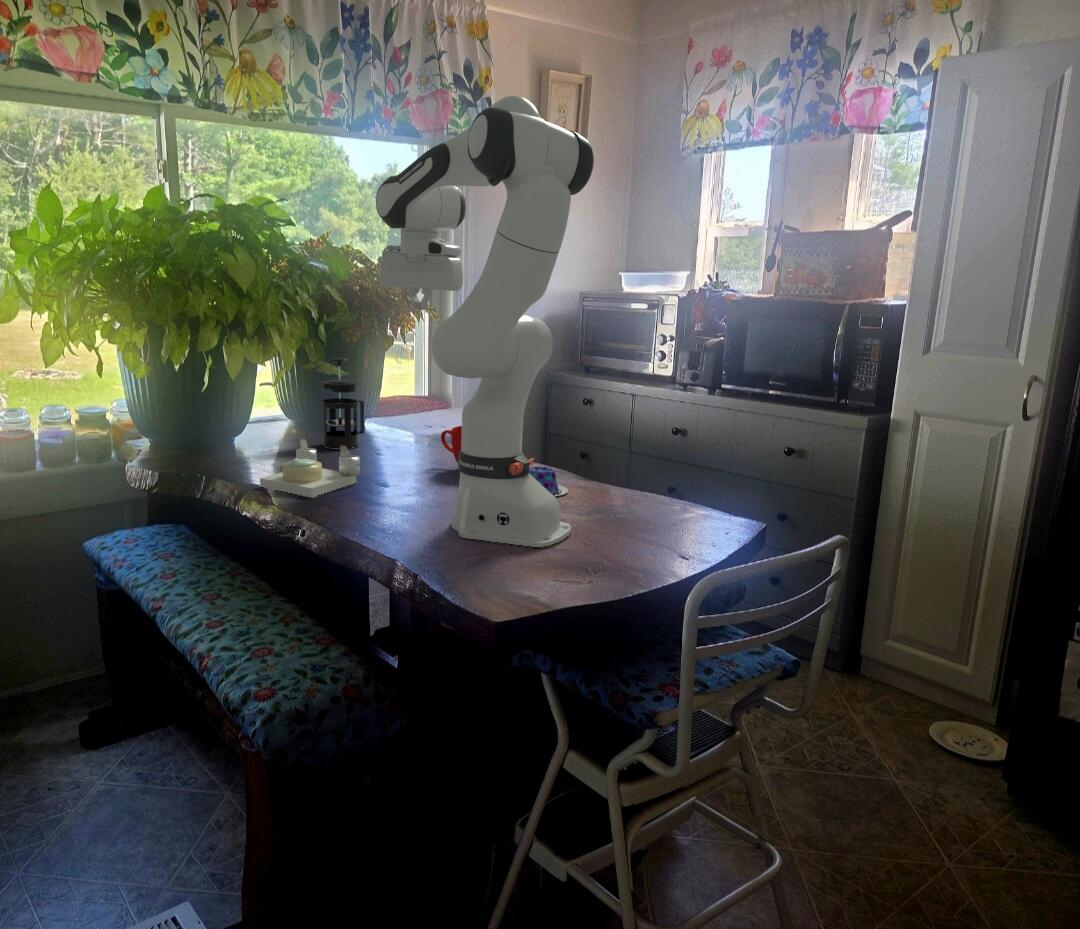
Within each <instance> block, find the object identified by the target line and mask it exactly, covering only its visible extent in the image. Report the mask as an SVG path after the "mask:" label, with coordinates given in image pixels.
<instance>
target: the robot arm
mask: <svg viewBox="0 0 1080 929" xmlns="http://www.w3.org/2000/svg"><path fill="white" fill-rule="evenodd" d="M594 163H595V157H594V152H593V148H592V144H591V142H589V141H588V139H586V138H585V137H583V136H582V135H581V134H579V133H577V132H575V131H573V130H567V129H565V128H563V127H561V126H558V125H556V124H554V123H551V122H549V121H545V119H543V118H542V117H541V116H540V113H539V111H538V110H537V108H536V106H535V105H534V104H533V103H532V102H531V101H530V100H528V99H527V98H524V96H523V97H522V96H519V95H508V96H505V97H503V98H500V99H499V100H498V101H495V102H494V103H492V105H490V106H488V107H486V108H484V109H482V110H481V111H480V112H479V113H478V114H477V116H475V118H474V120H473V121H472V123H471V125H470V126H468V127H467V128H466V129H464V130H463V131H461V132H460V133H458V134H457V135H455V136H453V137H452V138H450V139H447V140H446V141H444V142H441V143H438V144H437V145H435V146H432V147H430V149H428V150H427V151H425V152H424V153H423V154H421V155H420V156H419V157H418V158H416V160H413V162H412V163H410V164H409V165H408V166H407V167H406V168H404V169H403V171H401V172H400V173H398V174H397V175H392V176H391V175H390V176H389V177H388V178H386V179H385V180H384V181H383V182H382V184H381V185H380V186H379V187H378V189H377V193H376V197H375V199H376V200H375V207H376V212H377V214H378V216H379V217H380V218H381V220H382V222H384V223H385V224H386V225H387V226H388V228H390V229H400V245H391V244H390V245H387V246H386V247H385V248H384V249H383V250H382V251H381V264H380V272H379V283H380V284H381V286H382V287H383V288H397V289H398V288H399V289H401V288H402V289H408V291H407V293H408V295H409V298H410V300H411V302H412V310H414V311H415V310H416V311H417V310H418V311H427V310H428V308H429V307H428V304H429V301H430V299H431V298H432V296H433V290H434V291H451V292H459V291H460V290H461V289H462V287H463V285H464V283H463V282H464V279H463V278H464V273H463V263H462V261H461V259H460V258H459V256H461V253H462V251H461V250H462V248H461V247H460V246H459V245H457V244H455V243H451V242H450V241H447V240H445V239H443V238H442V231H451V230H452V231H453V230H455V229H457V228H458V227H459V226H460V225H461V224H462V222H463V221H464V219H465V217H466V209H467V208H466V207H467V206H466V205H467V203H466V198H465V196H464V193H463V192H462V190H461V189H460V188H459V187H460V186H461V187H490V186H492V187H496V186H497V185H499V184H500V183H501V182H502V183H503V185H504V186H505V189H506V190H505V191H506V200H505V204H504V207H503V210H502V213H501V216H500V219H499V220H498V225H497V227H496V230H495V234H494V238H493V240H492V245H491V247H490V250H489V253H488V256H487V259H486V262H485V265H484V267H483V270H482V273H481V275H480V276H479V279H478V281H477V282H476V283H475V286H474V287H473V289H472V290H471V292H470V293H469V295H467V297H466V299H465V300H464V301H463V303H462V304H461V305H460V306H459V308H457V310H456V311H454V313H452V314H451V315H450V316H449V317H447V318H446V319H444V320H443V321H441V322H440V323H439V324H438V325H437V327H436V328H435V330H434V333H433V336H432V339H431V352H432V356H433V359H434V362H435V364H436V366H437V367H438V368H439V369H440V371H442V373H444V374H446V375H449V376H451V377H452V376H453V377H458V378H464V379H468V380H469V379H470V380H471V379H472V380H473V379H480V378H481V380H480V382H479V385H478V387H477V389H476V391H475V393H474V395H473V396H472V397H471V398H470V399H468V401H467V402H466V403H465V405H464V407H463V408H462V412H461V426H462V440H461V450H460V451H459V460H458V463H457V465H458V466H457V468H458V469H457V472H458V478H459V482H458V492H457V496H456V497H457V498H456V504H455V507H454V511H453V515H452V519H451V520H450V521H451V522H450V526H451V528H452V529H453V530H455V531H456V532H457V531H458V532H457V534H459V535H458V537H459V536H460V537H463V538H471V539H479V540H485V541H484V542H486V541H492V542H491V543H494V542H501V543H509V544H516V545H515V546H517V545H524V546H523V547H525V546H531V547H530V548H532V547H542V548H544V547H543V546H547V545H551V544H554V543H557V542H559V541H561V540H562V541H564V540H566V539H567V538H568V537H569V536H570V535H571V534H572V526H571V524H570V523H568V522H564V521H561V515H560V507H559V503H558V500H557V498H556V496H554V495H552V494H551V493H550V492H549V491H548V490H546V489H545V488H544V487H543V486H542V485H541V484H540V483H539V482H538V481H537V480H536V479H535V478H534V477H533V476H532V475H531V474H530V473H529V472H530V471H529V469H530V466H531V465H534V464H535V462H533V461H534V460H535V458H534V457H532V458H529V459H528V458H527V456H525V454H524V452H523V451H522V450H523V449H522V448H523V446H522V445H523V433H524V432H523V430H524V418H525V417H524V416H525V410H526V405H527V401H528V399H529V395H530V392H531V389H532V386H533V384H534V382H535V379H536V377H537V375H538V373H539V372H540V370H541V369H542V368H543V367H544V366H545V364H547V363H548V361H549V359H550V358H551V355H552V353H553V348H554V347H553V346H554V340H553V339H554V338H553V334H552V332H551V330H550V328H549V326H548V324H546V323H545V322H544V321H543V320H541V319H540V318H537V317H534V316H531V315H529V314H528V315H527V314H525V313H527V311H528V310H529V309H530V307H532V305H534V304H536V303H537V302H539V300H540V299H542V297H543V296H544V295H545V293H546V291H547V288H548V287H549V283H550V280H551V277H552V274H553V271H554V268H555V265H556V263H557V260H558V256H559V253H560V250H561V248H562V243H563V240H564V238H565V235H566V230H567V225H568V222H569V221H568V220H569V214H570V210H571V209H570V208H571V200H572V196H574V195H578V193H580V192H582V190H583V189H584V188H585V187H586V185H588V182H589V181H590V179H591V176H592V174H593V169H594V165H595V164H594ZM458 186H459V187H458ZM419 290H421V294H422V295H423V296H422V299H421V300H420V299H419V297H418V294H419V293H420V291H419ZM570 533H571V534H570ZM569 534H570V535H569ZM567 536H568V537H567ZM460 537H459V538H460ZM566 537H567V538H566ZM463 538H462V539H463ZM565 538H566V539H565ZM471 539H470V540H471ZM563 539H564V540H563ZM562 541H561V542H562ZM501 543H500V544H501ZM559 543H560V542H559ZM509 544H508V545H509ZM557 544H558V543H557ZM554 545H555V544H554ZM551 546H552V545H551ZM547 547H548V546H547Z"/></svg>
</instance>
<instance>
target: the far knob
mask: <svg viewBox="0 0 1080 929" xmlns="http://www.w3.org/2000/svg"><path fill="white" fill-rule="evenodd" d="M308 446H309V445H308V442H307V440H306V438H300V439H299V448H297V449H295V454H296V455H295V458H296V459H310V460H314V461H318V457H317V456H318V454H317V453H318V452H317V448H314V447H308Z"/></svg>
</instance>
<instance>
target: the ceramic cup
mask: <svg viewBox="0 0 1080 929" xmlns="http://www.w3.org/2000/svg"><path fill="white" fill-rule="evenodd" d="M446 434H449V435H450V438H451V446H450V445H449V443H448V442H447V440H446ZM461 440H462V425H458V426H454V427H452V428H451V429H446V430H444V431H442V432H441V435H440V441H441V444H442V445H443V447H444V448H445V450H447V451H449V452H450V453H452V454H453V457H454V459H455V461H456V463H457V464H458V460H459V451H460V450H461Z"/></svg>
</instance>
